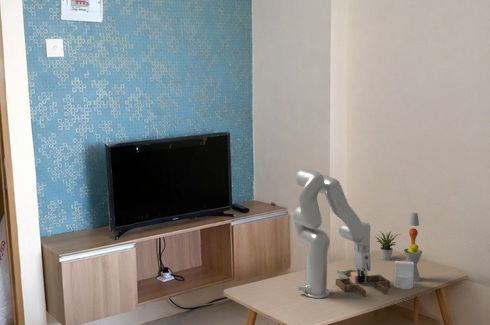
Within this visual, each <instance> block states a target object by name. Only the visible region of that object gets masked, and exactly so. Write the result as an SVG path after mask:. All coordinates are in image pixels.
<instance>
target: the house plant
mask: <svg viewBox="0 0 490 325" xmlns="http://www.w3.org/2000/svg"><path fill="white" fill-rule="evenodd" d="M379 232H380V235H382V236H380V235H379V234H377V233H376V235H377V236H375V238H376V239H377V241H376V242H377V243H379V244H380V248H379V251H380V252H379V253H380V258H381V260H382V261H391V260H392V259H391V258H392V255H393V251H394V250H393V246H396V244H397V242H396V241H395V242H393V240H395V239H396V237H398V236H401V235H402V234H395V233H393V234H391V233H392V231H389V232H388V233H387V232H386V233H385V234H386V235H385V234H384V232H382V231H379Z"/></svg>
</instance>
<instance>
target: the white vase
mask: <svg viewBox="0 0 490 325" xmlns="http://www.w3.org/2000/svg"><path fill="white" fill-rule="evenodd" d="M413 270H414V263H413V262H407V261H398V260H396V261H394V283H393V285H394V287H396V288H398V289H403V290H409V289H413V287H414V282H413Z"/></svg>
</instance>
